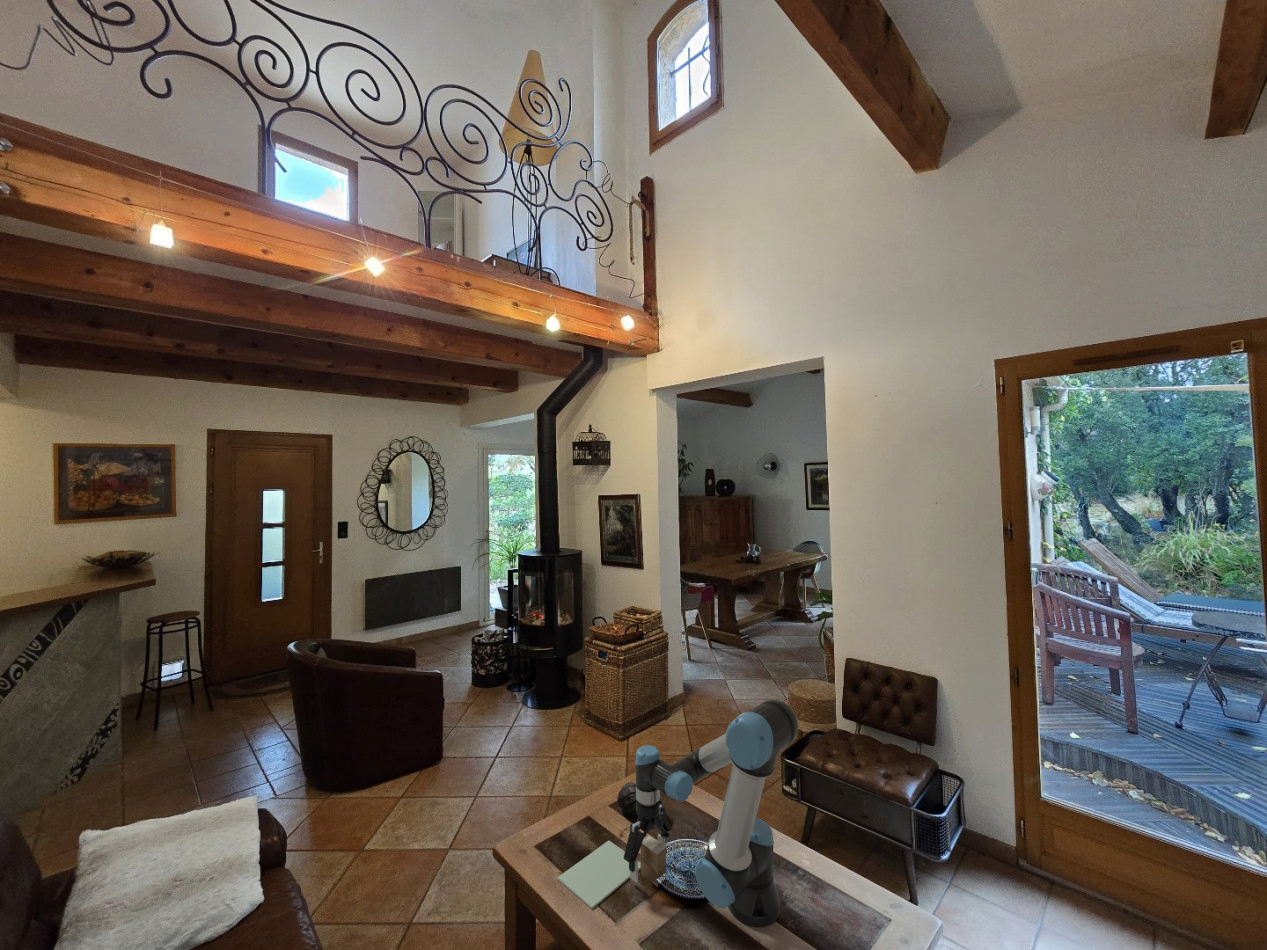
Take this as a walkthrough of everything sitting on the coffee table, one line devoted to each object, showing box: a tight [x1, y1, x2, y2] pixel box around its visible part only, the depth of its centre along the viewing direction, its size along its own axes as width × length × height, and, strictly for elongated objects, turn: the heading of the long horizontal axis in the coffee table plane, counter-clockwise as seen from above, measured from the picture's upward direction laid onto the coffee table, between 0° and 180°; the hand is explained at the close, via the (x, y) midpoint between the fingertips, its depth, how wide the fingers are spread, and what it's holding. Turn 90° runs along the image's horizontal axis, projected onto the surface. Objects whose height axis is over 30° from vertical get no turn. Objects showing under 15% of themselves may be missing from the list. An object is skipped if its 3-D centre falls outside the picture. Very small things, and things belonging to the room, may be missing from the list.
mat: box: [556, 840, 641, 910], centre depth 158 cm, size 16×22×1 cm
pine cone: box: [616, 781, 664, 823], centre depth 186 cm, size 10×18×10 cm, turn 74°
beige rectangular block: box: [640, 835, 667, 888], centre depth 156 cm, size 7×4×10 cm, turn 46°
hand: (648, 868), depth 157 cm, fingers open, 12 cm apart
